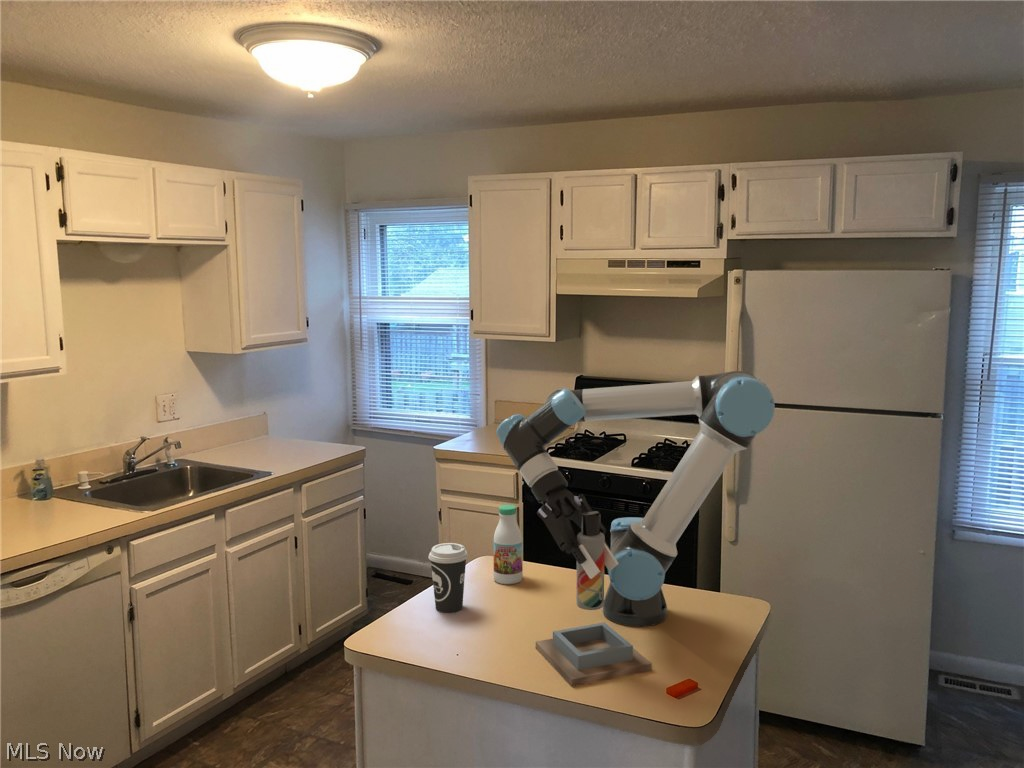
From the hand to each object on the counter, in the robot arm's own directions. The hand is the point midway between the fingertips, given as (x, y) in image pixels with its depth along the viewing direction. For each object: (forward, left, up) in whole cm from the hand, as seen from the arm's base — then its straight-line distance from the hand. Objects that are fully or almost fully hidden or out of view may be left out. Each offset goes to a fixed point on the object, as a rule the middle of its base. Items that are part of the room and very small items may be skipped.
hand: (604, 571), depth 163 cm
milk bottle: (+1, -52, -20) cm, 56 cm away
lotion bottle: (+2, -3, -9) cm, 9 cm away
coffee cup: (+21, -40, -20) cm, 50 cm away
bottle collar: (+1, -3, -19) cm, 19 cm away
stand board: (+1, -3, -20) cm, 20 cm away
